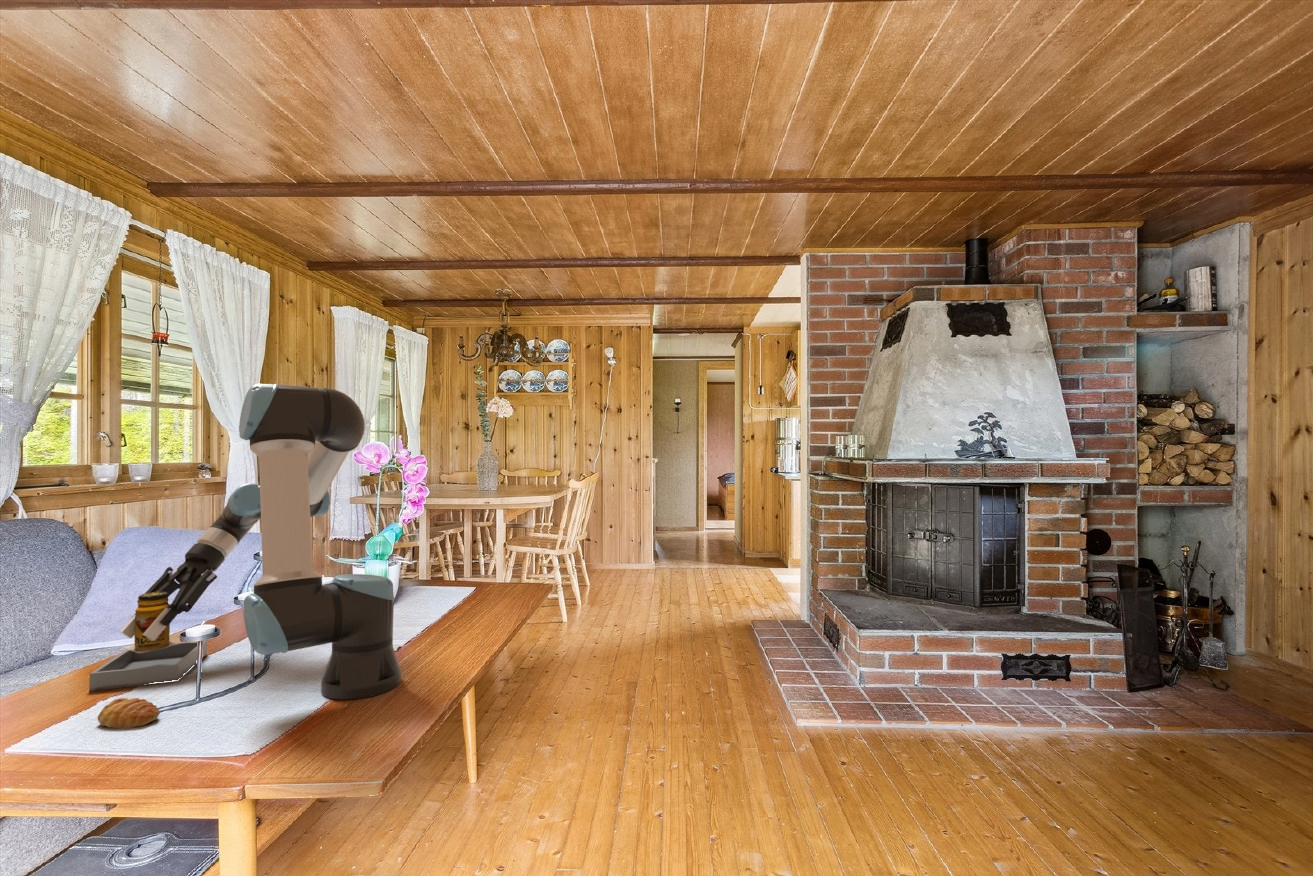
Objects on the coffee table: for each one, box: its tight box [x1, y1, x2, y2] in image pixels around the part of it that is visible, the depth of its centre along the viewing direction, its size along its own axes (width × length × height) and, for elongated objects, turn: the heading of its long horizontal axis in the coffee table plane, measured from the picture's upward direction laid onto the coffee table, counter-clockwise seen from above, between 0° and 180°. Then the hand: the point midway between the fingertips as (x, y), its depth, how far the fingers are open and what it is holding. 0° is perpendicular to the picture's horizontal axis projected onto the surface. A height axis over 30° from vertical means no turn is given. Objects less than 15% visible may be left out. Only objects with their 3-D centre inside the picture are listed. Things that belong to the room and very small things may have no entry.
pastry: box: [97, 697, 161, 729], centre depth 111 cm, size 9×7×4 cm
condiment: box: [122, 592, 178, 653], centre depth 137 cm, size 7×8×12 cm
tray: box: [88, 640, 208, 692], centre depth 136 cm, size 19×15×4 cm
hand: (137, 636), depth 133 cm, fingers closed on condiment, 6 cm apart
